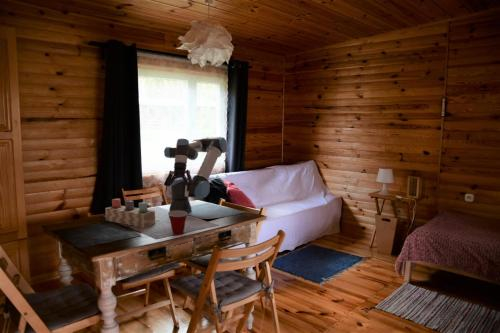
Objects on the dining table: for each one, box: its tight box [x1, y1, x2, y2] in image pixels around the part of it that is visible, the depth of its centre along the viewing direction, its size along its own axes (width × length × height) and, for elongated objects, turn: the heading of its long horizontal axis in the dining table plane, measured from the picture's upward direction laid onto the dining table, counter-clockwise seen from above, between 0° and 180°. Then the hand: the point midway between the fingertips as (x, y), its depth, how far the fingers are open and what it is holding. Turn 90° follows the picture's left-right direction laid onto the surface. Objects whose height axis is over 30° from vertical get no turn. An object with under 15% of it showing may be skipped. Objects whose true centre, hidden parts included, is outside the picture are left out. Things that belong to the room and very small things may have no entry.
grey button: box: [124, 200, 135, 210], centre depth 231 cm, size 5×5×5 cm
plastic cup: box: [167, 211, 189, 236], centre depth 206 cm, size 11×11×12 cm
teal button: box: [138, 201, 149, 212], centre depth 225 cm, size 5×5×5 cm
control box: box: [105, 205, 156, 228], centre depth 232 cm, size 33×10×8 cm, turn 59°
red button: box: [111, 198, 122, 208], centre depth 237 cm, size 5×5×5 cm
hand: (176, 196), depth 226 cm, fingers open, 13 cm apart
